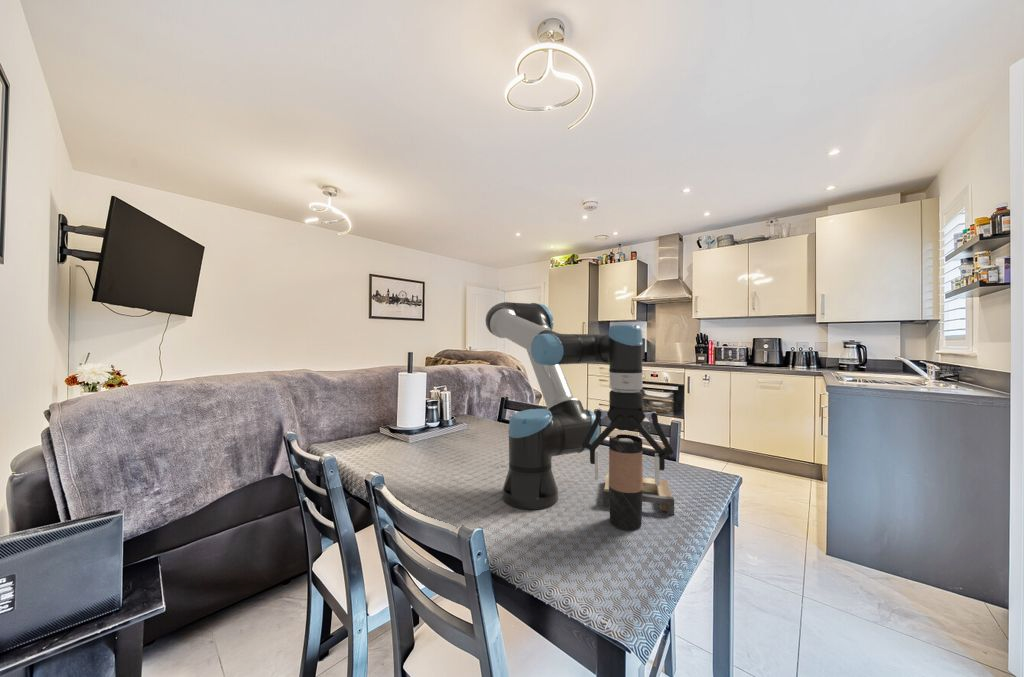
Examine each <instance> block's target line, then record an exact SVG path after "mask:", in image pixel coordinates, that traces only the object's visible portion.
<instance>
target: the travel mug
mask: <svg viewBox="0 0 1024 677" xmlns="http://www.w3.org/2000/svg"><path fill="white" fill-rule="evenodd" d="M608 441H609V442H608V443H609V444H608V445H609V447H608V451H609V452H608V453H609V456H608V474H609V506H610V507H609V506H608V507H609V522H610V524H611V526H613V527H615V528H616V529H619V530H622V531H629V532H630V531H631V532H632V531H637V530H640V528H641V527H642V524H643V522H642V520H643V518H642V516H643V502H642V496H643V494H644V493H643V492H644V491H643V478H644V475H643V471H644V470H643V467H644V466H643V464H644V463H643V461H644V460H643V439H642V438H641V437H639V436H638V435H637V436H636V435H632V434H617V435H616V436H614V437H611V436H609V440H608Z"/></svg>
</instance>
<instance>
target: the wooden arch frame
mask: <svg viewBox="0 0 1024 677" xmlns="http://www.w3.org/2000/svg"><path fill="white" fill-rule="evenodd" d="M643 492H647V493H655V494H657V495H655V494H646V493H643V496H642V503H651V504H659V509H660V511H665V512H666V515H672V516H675V497H674V496H672V492H671V489H670V486H669V481H668V479H661V478H660V486H656V483H655V478H650V477H643ZM602 495H603V498H602V499H603V500H602V501H603V507H609V508H610V506H609V473H606V477H605V483H604V488H603V494H602Z"/></svg>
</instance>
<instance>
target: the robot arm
mask: <svg viewBox="0 0 1024 677" xmlns="http://www.w3.org/2000/svg"><path fill="white" fill-rule="evenodd" d="M553 321H554V317H553V314H552V311H551V310H550V308H549V307H548V306H546V305H545V304H541V303H536V302H531V303H529V302H528V303H525V302H512V301H511V302H509V301H504V302H500V303H497V304H494V305H493V306H492V307H490V309H489V310H488V311H487V313H486V316H485V326H486V328H487V330H488V331H489V333H491V334H492V335H493V336H495V337H497V338H499V339H505V338H506V339H507V340H509V341H511V342H512V343H514V344H515V345H518V346H519V347H521V348H524V350H526V352H527V355H528V358H529V360H530V364H531V367H532V369H533V372H534V374H535V378H536V379H537V383H538V385H539V388H540V391H541V394H542V397H543V400H544V403H545V405H546V408H535V409H534V408H529V409H523V410H520V411H518V412H516V413H514V414H512V416H511V417H510V419H509V425H508V430H507V431H508V432H507V433H508V470H507V474H506V478H505V480H504V483H503V487H502V500H503V501H504V503H506V504H507V505H508V506H511V507H514V508H516V509H520V510H521V509H522V510H541V509H546V508H549V507H552V506H554V505H556V503H557V502H558V499H559V491H558V486H557V483H556V480H555V476H554V474H553V470H552V457H557V456H563V455H569V454H580V453H583V452H587V451H589V462H590V465H594V480H597V481H598V480H599V478H600V463H599V462H600V460H599V459H600V457H599V456H600V451H599V450H600V449H599V448H598V447H599V446H600V445H601V444H602V443H603V441H604V440H606V438H608V436H609V435H610V434H611V433H612V432H613V431H614V430H615V429H617V430H618V431H629V432H634V431H636V430H637V432H638V433H639V434H640V435H642V437H643V438H644V439H645V440H646V441H647V443H648V444H649V445H650V446H651V447H652V448H653V449H654V451H655V452H656V453H654V479H655V483H656V486H660V479H661V478H660V471H665V468H666V467H665V465H666V464H665V463H666V462H665V460H666V459H665V458H666V457H667V456H668V455H673V454H674V450H673V447H672V446H671V444H670V442H669V441H668V440H669V439H668V438H667V436H666V434H665V432H664V431H663V429H662V427H661V425H660V423H659V418H658V413H657V412H656V411H654V410H652V411H651V412H644V406H643V403H644V400H643V399H644V398H643V397H644V396H643V395H644V393H643V392H642V391H641V390H642V389H643V384H644V383H643V344H644V342H643V334H642V328H641V326H639V325H638V324H616V325H615V324H614V325H613V324H612V325H610V326H609V327H608V332H607V333H608V334H607V333H577V334H575V333H558V332H556V331H554V330H553V329H554V322H553ZM580 364H581V365H582V364H607V365H609V366H608V367H609V370H608V371H609V372H608V377H609V380H608V381H609V384H608V386H609V389H611V390H610V391H609V395H608V396H609V399H608V400H609V403H608V404H609V405H608V406H609V408H608V410H603V409H601V408H597V409H596V412H595V413H594V411H591V410H590V409H588V408H587V409H584V407H583V404H582V401H581V400H580V399H578V398H576V397H574V395H573V393H572V390H571V388H570V385H569V383H568V381H567V379H566V376H565V373H564V371H563V368H562V366H561V365H580ZM605 417H607V418H608V419H609V420H610V423H609V424H608V425H607V426H606V427H605V429H603V431H602V432H601V433H600V423H601V420H604V419H605ZM645 419H647V420H648V422H649V423H652V425H653V427H654V430H655V431H656V433H657V436H659V439H660V441H661V442H662V444H663V446H664V448H662V446H661V445H660V444H659V443H658V441H656V440H655V438H654V437H653V436H652V435H651V434H650V433H649V431H648V430H647V429H646V428H645V426H644V425H643V424H642V423H643V421H644V420H645Z"/></svg>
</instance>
